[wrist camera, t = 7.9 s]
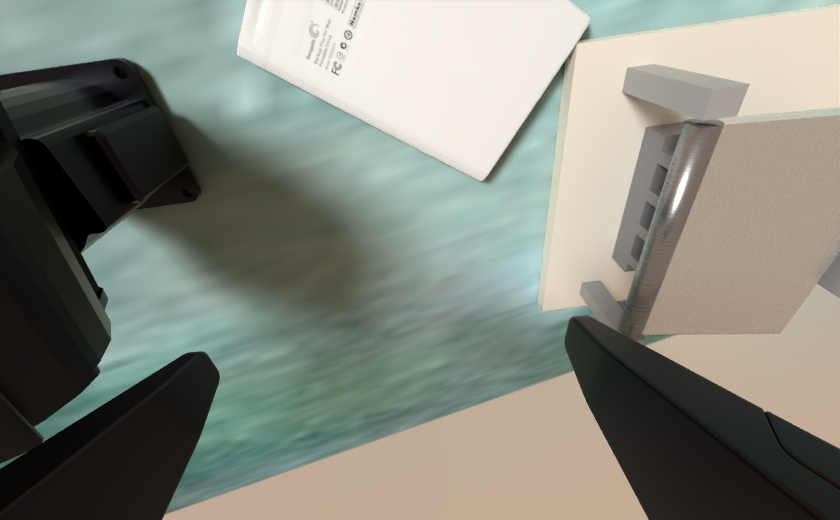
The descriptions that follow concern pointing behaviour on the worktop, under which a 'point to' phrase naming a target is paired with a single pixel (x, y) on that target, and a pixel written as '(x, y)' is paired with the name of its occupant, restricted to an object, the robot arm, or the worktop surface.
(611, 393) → the robot arm
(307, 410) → the worktop surface
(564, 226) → the board
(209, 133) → the worktop surface
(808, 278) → the brushed grey panel
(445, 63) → the external hard drive
